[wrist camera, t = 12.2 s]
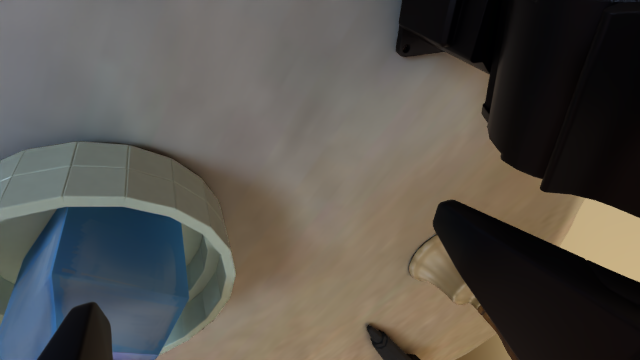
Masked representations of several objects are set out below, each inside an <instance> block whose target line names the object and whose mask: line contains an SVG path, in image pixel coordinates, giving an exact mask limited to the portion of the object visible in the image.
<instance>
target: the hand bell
mask: <svg viewBox="0 0 640 360" xmlns="http://www.w3.org/2000/svg"><path fill="white" fill-rule="evenodd" d="M409 273H410V275H411V276H412V277H413V278H415V279H417V280H419V281H426V282H429V283H431V284H433V285H435V286H436V287H438V288H439V289H440V290H441V291H442V292H444V293H445V294H446V295H447V296H448V297H449V298H450V299H451V300H452V302H453V303H455V304H458V305H462V304H467V303H470V304H472V305H473V306H474V307H475V308H476V309H477V310H478V312H479V313H480V314H481V315H483V317H484V319H485V320H486V321H487V322H488V323H489V324H490V325H491V326H492V328H493V329H494V330H495V331H496V332H497V334H498V335H499V337H500V339H501V340H502V343H503V345H504V347H505V349H506V351H507V353H508V354H509V356H510V357H511V359H512V360H519V359H518V358H517V357H516V355H515V354H514V352H513V351H512V349H511V348H510V347H509V345H508V344H507V342H506V341H505V339H504V338H503V336H502V335H501V334H500V332H499V331H498V329H497V328H496V326H495V325H494V323H493V322H492V321H491V319H490V318H489V316H488V315H487V313H486V312H485V311H484V309H483V308H482V306H481V305H480V303H479V302H478V300H477V299H476V298H475V296H474V295H473V293H472V292H471V290H470V289H469V287H468V286H467V285H466V283H465V282H464V280H463V279H462V277H461V276H460V274H459V273H458V271H457V269H456V268H455V266H454V264H453V262H452V261H451V259H450V257H449V255H448V253H447V252H446V250H445V248H444V246H443V244H442V243H441V241H440V239H439V237H438V235H436V236H434V237H433V238H431V239H430V240H429V241H427V242H426V243H425V244H424V245H423V246H422V247H421V248H420V249H419V250H418V251H417V252H416V254H415V255H414V257H413V259H412V261H411V262H410V266H409Z"/></svg>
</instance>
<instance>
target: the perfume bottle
mask: <svg viewBox="0 0 640 360" xmlns="http://www.w3.org/2000/svg"><path fill="white" fill-rule="evenodd" d="M188 300H189V290H188V281H187V272H186V262H185V253H184V244H183V235H182V225H181V223H180V222H178V221H177V220H175V219H173V218H171V217H168V216H163V215H159V214H154V213H149V212H145V211H140V210H136V209H131V208H126V207H63V208H58V209H57V210H56V211H55V213H54V214H53V216H52V217H51V219H50V220H49V222H48V223H47V225H46V226H45V228H44V229H43V231H42V232H41V234H40V235H39V237H38V238H37V240H36V241H35V242H34V244H33V245H32V247H31V248H30V250H29V251H28V253H27V254H26V256H25V257H24V259H23V262H22V265H21V268H20V270H19V273H18V276H17V279H16V282H15V285H14V288H13V291H12V294H11V297H10V300H9V303H8V306H7V308H6V311H5V314H4V317H3V320H2V323H1V326H0V360H37V358H38V357H39V355H40V354H41V353H42V351H43V350H44V348H45V347H46V345H47V344H48V342H49V341H50V339H51V338H52V336H53V335H54V333H55V332H56V330H57V329H58V327H59V326H60V324H61V323H62V321H63V320H64V318H65V317H66V315H67V314H68V313H69V311H70V310H71V309H72V308H73V307H75V306H78V305H81V304H85V303H88V302H95V303H97V304H98V306H99V307H100V308H101V310H102V311H103V313H104V314H105V316H106V317H107V318H108V320H109V322H110V325H111V333H112V352H113V360H155V359H156V358H157V356H158V355H159V354H160V352H161V350H162V348H163V346H164V345H165V343H166V341H167V339H168V337H169V335H170V333H171V332H172V330H173V328H174V326H175V324H176V322H177V320H178V319H179V317H180V315H181V313H182V311H183V309H184V307H185V306H186V304H187V302H188Z"/></svg>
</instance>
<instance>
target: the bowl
mask: <svg viewBox="0 0 640 360" xmlns="http://www.w3.org/2000/svg"><path fill="white" fill-rule="evenodd" d="M63 207H126V208H131V209H136V210H140V211H145V212H149V213H154V214H159V215H163V216H168V217H171V218H173V219H175V220H177V221H178V222H180V223H181V225H182V235H183V244H184V253H185V262H186V272H187V281H188V290H189V300H188V302H187V304H186V306H185V307H184V309H183V311H182V313H181V315H180V317H179V319H178V320H177V322H176V324H175V326H174V328H173V330H172V332H171V333H170V335H169V337H168V339H167V341H166V343H165V345H164V346H163V348H162V350H161V352H160V354H159V355H161V354H163V353H165V352H167V351H169V350H171V349H173V348H174V347H176V346H178V345H180V344H182V343H184V342H186V341H188V340H189V339H191V338H192V337H193V336H194V335H196V334H197V333H198V332H199V331H201V330H202V329H203V328H204V327H206V326H207V325H208V324H209V323H211V322H212V321H213V320H214V319H215V318H216V317H217V315H218V314H219V312H220V311H221V310H222V308H223V307H224V306H225V304H226V303H227V302H228V300H229V299H230V295H231V292H232V288H233V284H234V281H235V277H236V271H235V266H234V262H233V257H232V253H231V248H230V244H229V240H228V236H227V232H226V228H225V224H224V220H223V215H222V211H221V207H220V203H219V201H218V199H217V198H216V197H215V195H214V194H213V193H212V191H211V190H210V189H209V187H208V186H207V185H206V183H205V182H204V181H203V180H202V179H201V177H199V176H198V175H196V174H195V173H193V172H191V171H190V170H188V169H187V168H185V167H184V166H182V165H181V164H179V163H178V162H176V161H175V160H173V159H171V158H169V157H166V156H162V155H159V154H156V153H153V152H150V151H147V150H144V149H140V148H137V147H134V146H131V145H129V146H128V145H123V144H109V143H96V142H82V141H79V142H77V141H76V142H69V143H63V144H57V145H51V146H45V147H38V148H32V149H27V150H23V151H20V152H18V153H16V154H14V155H12V156H9V157H7V158H5V159H3V160H1V161H0V326H1V323H2V320H3V317H4V314H5V311H6V308H7V306H8V303H9V300H10V297H11V294H12V291H13V288H14V285H15V282H16V279H17V276H18V273H19V270H20V268H21V265H22V262H23V259H24V257H25V256H26V254H27V253H28V251H29V250H30V248H31V247H32V245H33V244H34V242H35V241H36V240H37V238H38V237H39V235H40V234H41V232H42V231H43V229H44V228H45V226H46V225H47V223H48V222H49V220H50V219H51V217H52V216H53V214H54V213H55V211H56V210H57V209H58V208H63ZM159 355H158V356H159Z"/></svg>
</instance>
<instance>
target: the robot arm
mask: <svg viewBox="0 0 640 360" xmlns="http://www.w3.org/2000/svg"><path fill="white" fill-rule="evenodd" d="M399 24H400V25H399V31H398V38H397V45H396V51H397V53H398V54H399V55H401V56H402V57H408V56H416V55H424V54H431V53H439V52H447V53H449V54H451V55H453V56H455V57H457V58H459V59H461V60H462V61H464V62H466V63H468V64H470V65H472V66H474V67H476V68H478V69H480V70H482V71H484V72H486V73H488V74H490V77H489V83H488V89H487V95H486V101H485V103H484V104H483V107H482V115H483V117H484V118H485V120H486V121H487V123H488V125H487V128H488V133H489V139H490V140H491V141H492V142H493V144H494V145H495V146H496V148H497V149H498V150H499V151H500V152H501V159H502V160H503V161H504V162H506V163H507V164H509V165H510V166H512V167H513V168H515V169H517V170H519V171H521V172H524V173H526V174H528V175H531V176H533V177H537V178H540V179H543V180H542V183H541V186H540V189H541V190H542V191H544V192H549V193H561V194H571V195H575V196H580V197H584V198H589V199H593V200H596V201H599V202H602V203H604V204H607V205H610V206H613V207H615V208H617V209H620V210H622V211H624V212H627V213H629V214H632V215H634V216H636V217H639V218H640V0H402V5H401V12H400V18H399ZM405 45H407V47H406V49H405V50H403V48H404V46H405ZM433 227H434V230H435V232H436V234H437V235H438V237H439V239H440V241H441V243H442V244H443V246H444V248H445V250H446V252H447V253H448V255H449V257H450V259H451V261H452V262H453V264H454V266H455V268H456V269H457V271H458V273H459V274H460V276H461V277H462V279H463V280H464V282H465V283H466V285H467V286H468V287H469V289H470V290H471V292H472V293H473V295H474V296H475V298H476V299H477V300H478V302H479V303H480V305H481V306H482V308H483V309H484V311H485V312H486V313H487V315H488V316H489V318H490V319H491V321H492V322H493V323H494V325H495V326H496V328H497V329H498V331H499V332H500V334H501V335H502V336H503V338H504V339H505V341H506V342H507V344H508V345H509V347H510V348H511V349H512V351H513V352H514V354H515V355H516V357H517V358H518V359H519V360H640V282H638V281H635V280H633V279H630V278H628V277H625V276H623V275H621V274H618V273H616V272H614V271H611V270H609V269H607V268H604V267H602V266H600V265H598V264H596V263H593V262H591V261H589V260H585V259H584V258H582V257H580V256H578V255H575V254H573V253H571V252H569V251H567V250H564V249H562V248H560V247H558V246H556V245H553V244H551V243H549V242H547V241H544V240H542V239H540V238H538V237H536V236H533V235H531V234H529V233H527V232H524V231H522V230H520V229H518V228H516V227H513V226H511V225H509V224H507V223H504V222H502V221H500V220H498V219H496V218H493V217H491V216H489V215H487V214H485V213H482V212H480V211H478V210H476V209H473V208H471V207H469V206H467V205H465V204H462V203H460V202H458V201H456V200H447V201H444V202H441V203H440V204H439V205H438V207H437V210H436V213H435V217H434V220H433ZM37 360H113V352H112V333H111V325H110V322H109V320H108V318H107V317H106V316H105V314H104V313H103V311H102V310H101V308H100V307H99V306H98V304H97V303H95V302H88V303H85V304H81V305H78V306H75V307H73V308H72V309H71V310H70V311H69V313H68V314H67V315H66V317H65V318H64V320H63V321H62V323H61V324H60V326H59V327H58V329H57V330H56V332H55V333H54V335H53V336H52V338H51V339H50V341H49V342H48V344H47V345H46V347H45V348H44V350H43V351H42V353H41V354H40V355H39V357H38V358H37Z"/></svg>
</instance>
